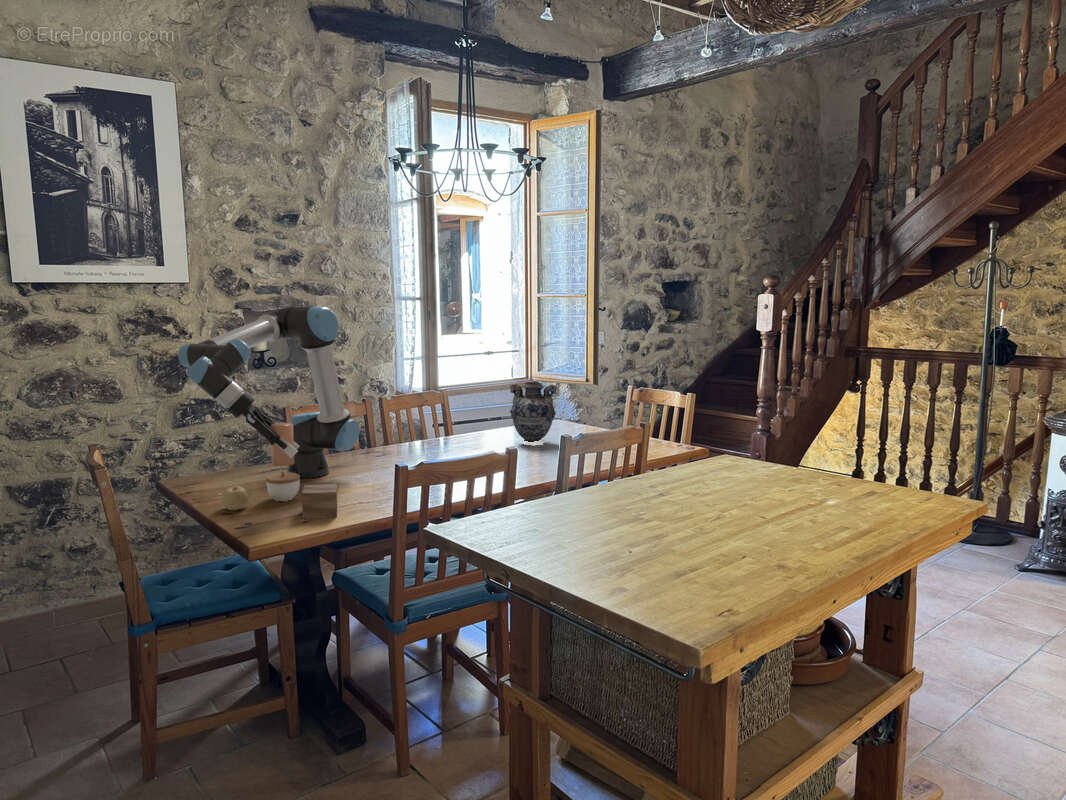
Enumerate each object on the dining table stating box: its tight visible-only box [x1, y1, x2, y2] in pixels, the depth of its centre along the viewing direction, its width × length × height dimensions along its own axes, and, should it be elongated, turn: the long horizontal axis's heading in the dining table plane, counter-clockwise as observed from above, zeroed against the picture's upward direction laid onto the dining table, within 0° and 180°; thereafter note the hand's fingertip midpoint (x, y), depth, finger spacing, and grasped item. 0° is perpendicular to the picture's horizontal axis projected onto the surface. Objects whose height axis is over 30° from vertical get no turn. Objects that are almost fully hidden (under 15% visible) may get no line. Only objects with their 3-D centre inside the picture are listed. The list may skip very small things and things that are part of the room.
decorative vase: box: [509, 381, 558, 442], centre depth 340 cm, size 21×19×28 cm
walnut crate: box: [301, 483, 339, 520], centre depth 234 cm, size 10×10×8 cm
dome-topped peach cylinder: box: [270, 422, 294, 467], centre depth 227 cm, size 6×6×12 cm
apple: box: [221, 485, 249, 511], centre depth 238 cm, size 8×8×8 cm
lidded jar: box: [265, 470, 301, 502], centre depth 249 cm, size 11×11×9 cm
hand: (295, 452), depth 228 cm, fingers closed on dome-topped peach cylinder, 6 cm apart
